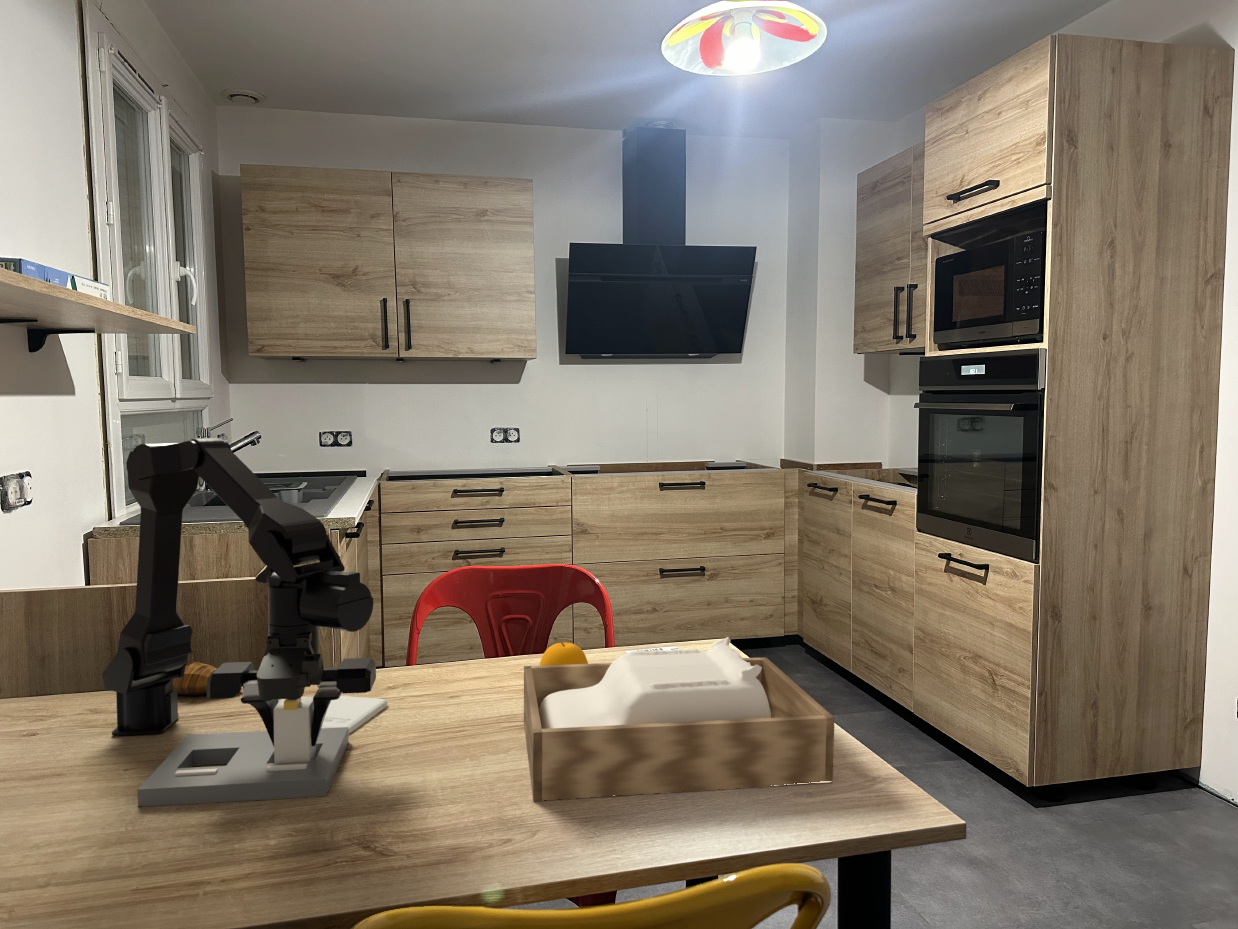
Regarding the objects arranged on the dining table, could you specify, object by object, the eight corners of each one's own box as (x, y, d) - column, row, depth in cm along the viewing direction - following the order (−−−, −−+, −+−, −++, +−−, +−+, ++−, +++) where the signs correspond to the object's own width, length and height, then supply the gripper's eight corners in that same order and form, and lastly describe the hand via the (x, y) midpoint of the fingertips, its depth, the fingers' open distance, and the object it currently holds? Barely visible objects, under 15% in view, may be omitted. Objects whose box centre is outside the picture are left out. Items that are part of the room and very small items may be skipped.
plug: (273, 776, 100) (272, 702, 100) (282, 760, 105) (281, 689, 104) (308, 774, 101) (307, 701, 100) (315, 758, 105) (315, 688, 105)
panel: (138, 807, 93) (137, 786, 93) (188, 749, 109) (188, 732, 108) (325, 796, 96) (325, 776, 96) (348, 741, 112) (348, 724, 112)
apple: (587, 697, 130) (587, 650, 130) (536, 696, 130) (536, 649, 130) (589, 681, 138) (590, 636, 138) (542, 680, 138) (542, 635, 138)
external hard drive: (387, 709, 126) (344, 741, 113) (337, 705, 127) (290, 736, 115) (387, 699, 125) (344, 729, 113) (337, 695, 127) (289, 724, 115)
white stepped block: (786, 778, 103) (789, 671, 102) (541, 795, 97) (542, 682, 97) (738, 721, 121) (740, 630, 121) (531, 732, 116) (531, 637, 115)
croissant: (140, 701, 127) (139, 668, 126) (162, 686, 133) (161, 655, 133) (232, 700, 127) (231, 668, 127) (249, 686, 134) (248, 655, 134)
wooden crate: (533, 801, 95) (533, 732, 95) (523, 721, 120) (523, 666, 119) (832, 782, 101) (834, 717, 100) (764, 709, 125) (766, 657, 125)
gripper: (188, 641, 93) (191, 778, 93) (363, 636, 95) (364, 769, 96) (220, 616, 103) (222, 740, 104) (376, 612, 106) (376, 732, 107)
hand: (295, 745), depth 103 cm, fingers closed on plug, 4 cm apart
